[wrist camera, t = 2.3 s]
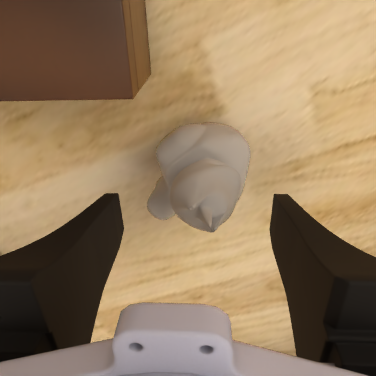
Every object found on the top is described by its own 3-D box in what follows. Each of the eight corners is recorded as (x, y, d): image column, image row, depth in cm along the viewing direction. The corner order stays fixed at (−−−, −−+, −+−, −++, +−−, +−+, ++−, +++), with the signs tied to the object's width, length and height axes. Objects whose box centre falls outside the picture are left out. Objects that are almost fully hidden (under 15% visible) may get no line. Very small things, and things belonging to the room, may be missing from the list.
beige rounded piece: (266, 157, 20) (296, 242, 13) (185, 211, 23) (175, 306, 16) (213, 88, 18) (216, 146, 11) (130, 155, 21) (91, 235, 14)
